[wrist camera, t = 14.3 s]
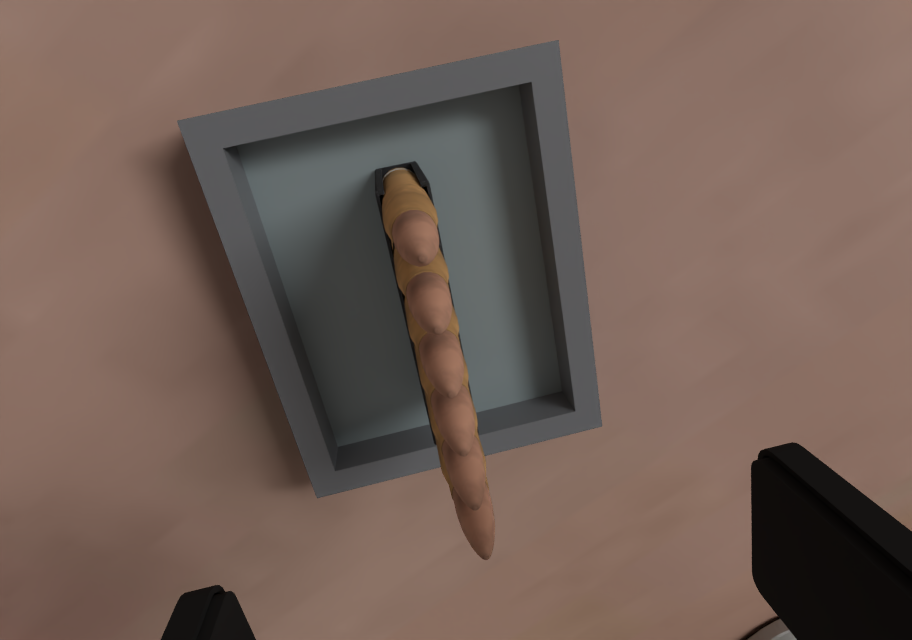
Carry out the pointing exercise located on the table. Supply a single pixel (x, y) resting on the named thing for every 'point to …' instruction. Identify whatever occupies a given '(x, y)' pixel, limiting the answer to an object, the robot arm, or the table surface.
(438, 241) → the ammunition clip
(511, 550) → the table surface
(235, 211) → the holder tray
